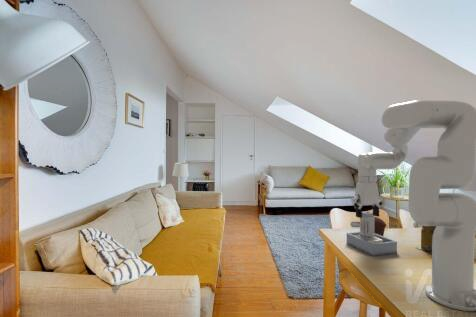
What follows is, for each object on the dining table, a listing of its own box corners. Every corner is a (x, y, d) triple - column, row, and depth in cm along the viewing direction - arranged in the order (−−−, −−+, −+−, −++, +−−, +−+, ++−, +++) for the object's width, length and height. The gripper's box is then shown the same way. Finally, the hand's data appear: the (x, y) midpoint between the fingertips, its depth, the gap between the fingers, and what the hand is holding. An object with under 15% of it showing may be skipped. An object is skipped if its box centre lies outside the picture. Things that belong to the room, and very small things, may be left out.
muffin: (356, 234, 136) (356, 215, 135) (371, 231, 140) (371, 214, 140) (376, 241, 125) (376, 221, 125) (391, 238, 129) (391, 219, 129)
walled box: (396, 253, 110) (397, 241, 110) (372, 256, 106) (372, 244, 106) (368, 240, 125) (368, 230, 125) (346, 243, 122) (346, 233, 122)
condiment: (428, 246, 118) (429, 221, 117) (446, 253, 109) (447, 226, 109) (415, 247, 116) (415, 222, 116) (432, 255, 108) (433, 227, 108)
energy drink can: (357, 244, 118) (357, 212, 118) (363, 241, 122) (363, 210, 122) (371, 247, 114) (371, 214, 114) (376, 244, 118) (376, 212, 118)
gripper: (375, 179, 124) (376, 214, 123) (346, 179, 119) (346, 216, 119) (388, 180, 116) (389, 217, 116) (357, 180, 112) (358, 219, 111)
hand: (367, 216), depth 117 cm, fingers open, 9 cm apart
